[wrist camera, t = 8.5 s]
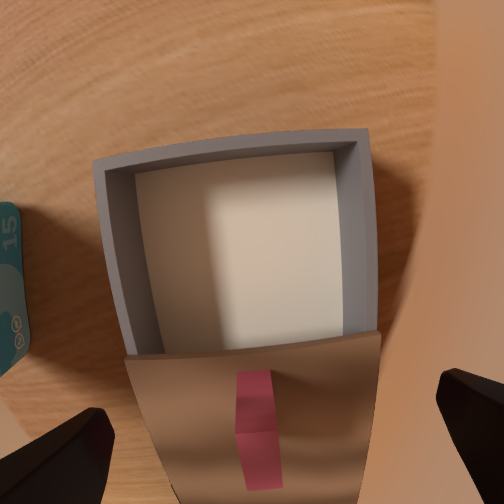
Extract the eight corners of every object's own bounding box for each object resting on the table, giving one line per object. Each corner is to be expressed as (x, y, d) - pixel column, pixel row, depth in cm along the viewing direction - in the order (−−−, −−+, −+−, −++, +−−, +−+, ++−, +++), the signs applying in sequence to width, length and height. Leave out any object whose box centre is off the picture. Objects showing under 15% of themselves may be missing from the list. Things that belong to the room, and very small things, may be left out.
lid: (354, 500, 18) (369, 547, 13) (191, 516, 18) (184, 564, 13) (377, 329, 15) (422, 381, 10) (127, 354, 15) (89, 412, 10)
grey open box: (347, 375, 21) (369, 416, 16) (170, 392, 21) (155, 437, 16) (338, 142, 18) (367, 128, 13) (128, 166, 18) (92, 160, 13)
